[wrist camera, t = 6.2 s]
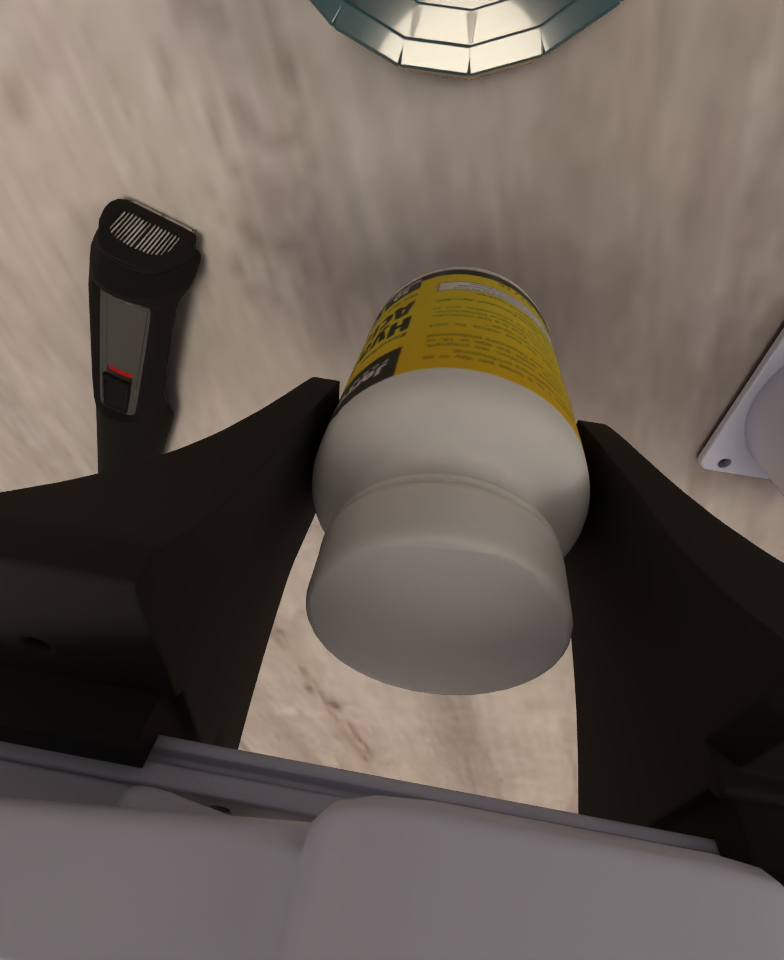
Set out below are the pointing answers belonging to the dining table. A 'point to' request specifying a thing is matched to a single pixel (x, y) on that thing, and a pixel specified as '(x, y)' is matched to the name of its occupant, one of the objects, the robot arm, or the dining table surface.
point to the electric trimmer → (135, 326)
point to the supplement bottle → (450, 493)
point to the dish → (461, 31)
